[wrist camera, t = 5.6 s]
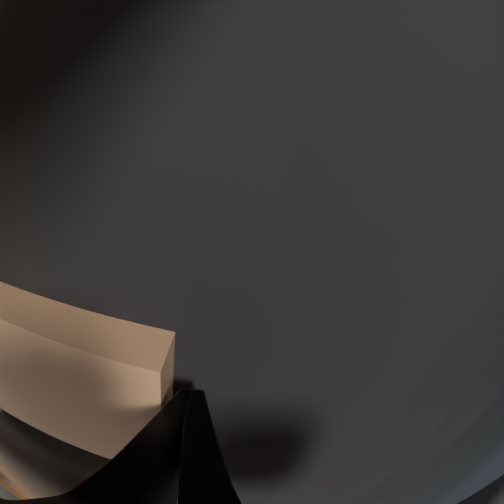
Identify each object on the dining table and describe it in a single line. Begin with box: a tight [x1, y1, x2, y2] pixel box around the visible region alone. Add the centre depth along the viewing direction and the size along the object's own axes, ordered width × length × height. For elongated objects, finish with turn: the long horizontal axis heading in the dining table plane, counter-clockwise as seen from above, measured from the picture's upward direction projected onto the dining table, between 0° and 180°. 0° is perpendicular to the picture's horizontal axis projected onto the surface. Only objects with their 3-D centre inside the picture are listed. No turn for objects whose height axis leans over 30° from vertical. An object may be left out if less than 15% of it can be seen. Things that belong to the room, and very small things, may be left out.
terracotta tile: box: [0, 282, 175, 459], centre depth 10 cm, size 14×7×2 cm, turn 79°
